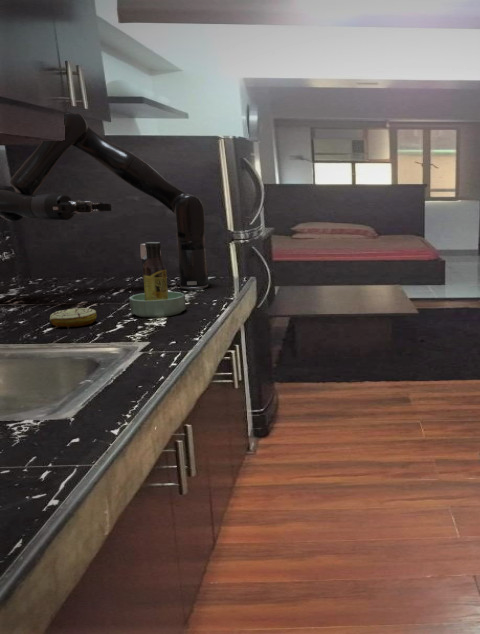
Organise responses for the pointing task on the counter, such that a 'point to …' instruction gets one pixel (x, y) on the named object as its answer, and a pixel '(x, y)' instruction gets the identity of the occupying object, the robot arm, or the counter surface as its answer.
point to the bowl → (158, 305)
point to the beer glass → (143, 253)
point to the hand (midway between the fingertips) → (100, 207)
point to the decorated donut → (73, 317)
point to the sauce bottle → (154, 274)
